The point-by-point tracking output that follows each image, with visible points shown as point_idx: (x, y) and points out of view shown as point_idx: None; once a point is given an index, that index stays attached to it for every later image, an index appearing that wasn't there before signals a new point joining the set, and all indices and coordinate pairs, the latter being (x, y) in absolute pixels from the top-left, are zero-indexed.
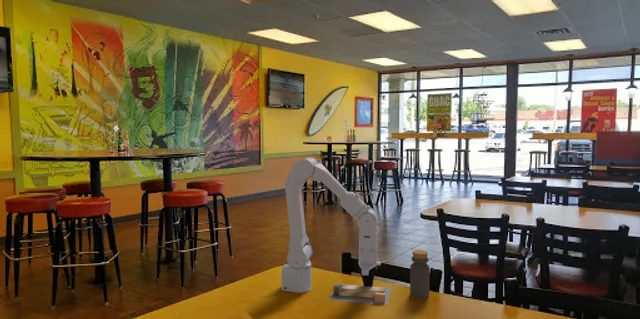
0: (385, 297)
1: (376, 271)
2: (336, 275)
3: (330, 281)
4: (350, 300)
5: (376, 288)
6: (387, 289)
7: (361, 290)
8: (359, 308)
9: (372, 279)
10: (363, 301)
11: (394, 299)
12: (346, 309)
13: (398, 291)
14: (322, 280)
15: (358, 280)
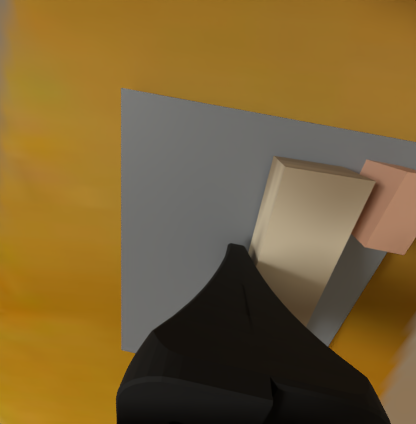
0: (305, 152)
1: (356, 395)
2: (10, 327)
3: (79, 349)
4: (322, 329)
5: (299, 236)
6: (155, 124)
7: (304, 318)
8: (370, 285)
9: (284, 310)
10: (347, 281)
11: (269, 80)
12: (368, 330)
13: (120, 33)
14: (78, 367)
15: (27, 259)
